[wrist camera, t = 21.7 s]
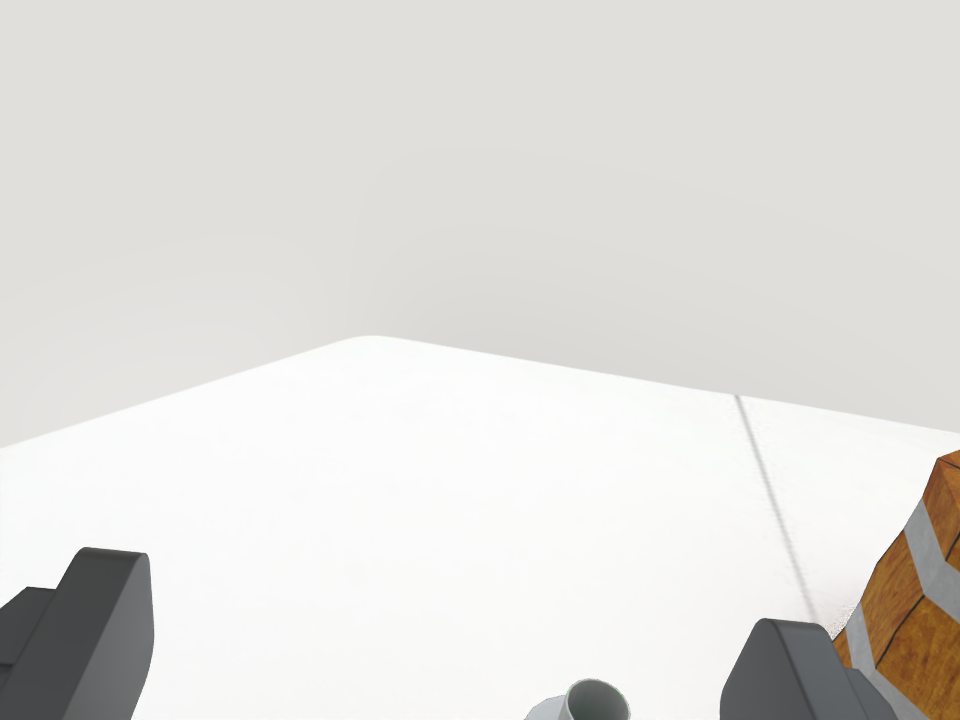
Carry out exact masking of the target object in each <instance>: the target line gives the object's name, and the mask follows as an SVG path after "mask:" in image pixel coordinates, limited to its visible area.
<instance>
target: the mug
mask: <svg viewBox="0 0 960 720" xmlns="http://www.w3.org/2000/svg"><path fill="white" fill-rule="evenodd" d="M832 642H833V644H834V646H835V648H836V650H837V653H838V655H839V657H840V659H841V661H842V663H843V665H844V667H845V668H854V669H859V670H860V671H861V672H862V673H863V675H864V676H865V677H866V678H867V679H868V680H869V681H870V682H871V683H872V685H873V686H874V687H875V688H876V689H877V690H878V691H879V692H880V694H881V695H882V696H883V697H884V698H885V699H886V700H887V701H888V702H889V704H890V705H891V706H892V708H893V710H894V712H895V714H896V716H897V718H898V720H960V450H958V451H955V452H952V453H950V454H947V455H944V456H941V457H939V458H937V460H936V463H935V465H934V468H933V470H932V473H931V475H930V478H929V481H928V483H927V486H926V488H925V491H924V493H923V496H922V498H921V500H920V501H919V503H918V505H917V506H916V508H915V510H914V512H913V513H912V515H911V517H910V518H909V520H908V522H907V523H906V525H905V527H904V529H903V530H902V531H901V532H900V534H899V535H898V536H897V538H896V539H895V540H894V542H893V543H892V544H891V545H890V547H889V548H888V549H887V551H886V552H885V553H884V555H883V556H882V557H881V558H880V560H879V561H878V562H877V564H876V566H875V568H874V571H873V573H872V575H871V578H870V580H869V582H868V584H867V587H866V589H865V591H864V593H863V596H862V598H861V600H860V602H859V604H858V605H857V607H856V609H855V610H854V612H853V614H852V615H851V617H850V619H849V621H848V622H847V624H846V626H845V627H844V628H843V629H842V631H841V632H840V633H839V634H838V635H837V636H836V638H835V639H834V640H833V641H832Z"/></svg>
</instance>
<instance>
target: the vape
mask: <svg viewBox="0 0 960 720" xmlns="http://www.w3.org/2000/svg"><path fill="white" fill-rule="evenodd" d="M630 716H631V713H630V708H629V704H628V703H627V701H626V699H625V697H624V696H623V695H622V694H621V693H620V692H619V691H618V689H617V688H615V687H614V686H612V685H610V684H609V683H607V682H604V681H601V680H598V679H584V680H579V681H578V682H576V683H574V684H573V685H572V686H571V687H570V689H569V690H568V691H567V694H566V695H561V696H557V697H553V698H549V699H546V700H544V701H543V702H541V703H540V704H538V705H537V706H535V707H533V708H532V710H531V711H530V712H529V714H528V715H527V717H526V718H525V719H524V720H630Z"/></svg>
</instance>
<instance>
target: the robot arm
mask: <svg viewBox="0 0 960 720" xmlns="http://www.w3.org/2000/svg"><path fill="white" fill-rule="evenodd" d="M153 645H154V620H153V605H152V591H151V576H150V563H149V558H148V555H147V554H146V553H139V552H130V551H120V550H110V549H100V548H90V547H84V548H82V549H80V550H79V551H78V552H77V554H76V555H75V556H74V558H73V560H72V561H71V563H70V565H69V567H68V568H67V570H66V572H65V574H64V576H63V577H62V579H61V581H60V583H59V584H58V586H57V588H56V589H47V588H37V587H26V588H25V589H24V590H22V591H21V592H20V593H19V594H18V595H16V596H15V597H14V598H13V599H11V600H10V601H9V602H8V603H7V604H5V605H4V606H3V607H2V608H1V609H0V720H131V717H132V715H133V712H134V710H135V707H136V704H137V702H138V699H139V697H140V694H141V692H142V689H143V686H144V684H145V681H146V678H147V674H148V671H149V667H150V663H151V658H152V652H153ZM720 720H898V718H897V716H896V714H895V712H894V710H893V708H892V706H891V705H890V704H889V702H888V701H887V700H886V699H885V698H884V697H883V696H882V695H881V694H880V692H879V691H878V690H877V689H876V688H875V687H874V686H873V685H872V683H871V682H870V681H869V680H868V679H867V678H866V677H865V676H864V675H863V673H862V672H861V671H860V670H859V669H854V668H845V667H844V665H843V663H842V661H841V659H840V657H839V655H838V653H837V650H836V648H835V646H834V644H833V642H832V640H831V638H830V636H829V634H828V633H827V631H826V630H825V629H824V628H823V627H822V626H821V625H819V624H816V623H807V622H797V621H787V620H777V619H767V618H763V619H760V620H759V621H758V622H757V623H756V624H755V626H754V628H753V630H752V632H751V634H750V636H749V638H748V640H747V642H746V644H745V646H744V648H743V650H742V652H741V654H740V656H739V658H738V660H737V662H736V664H735V666H734V668H733V670H732V672H731V674H730V676H729V678H728V680H727V682H726V684H725V686H724V688H723V691H722V695H721V701H720Z"/></svg>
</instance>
